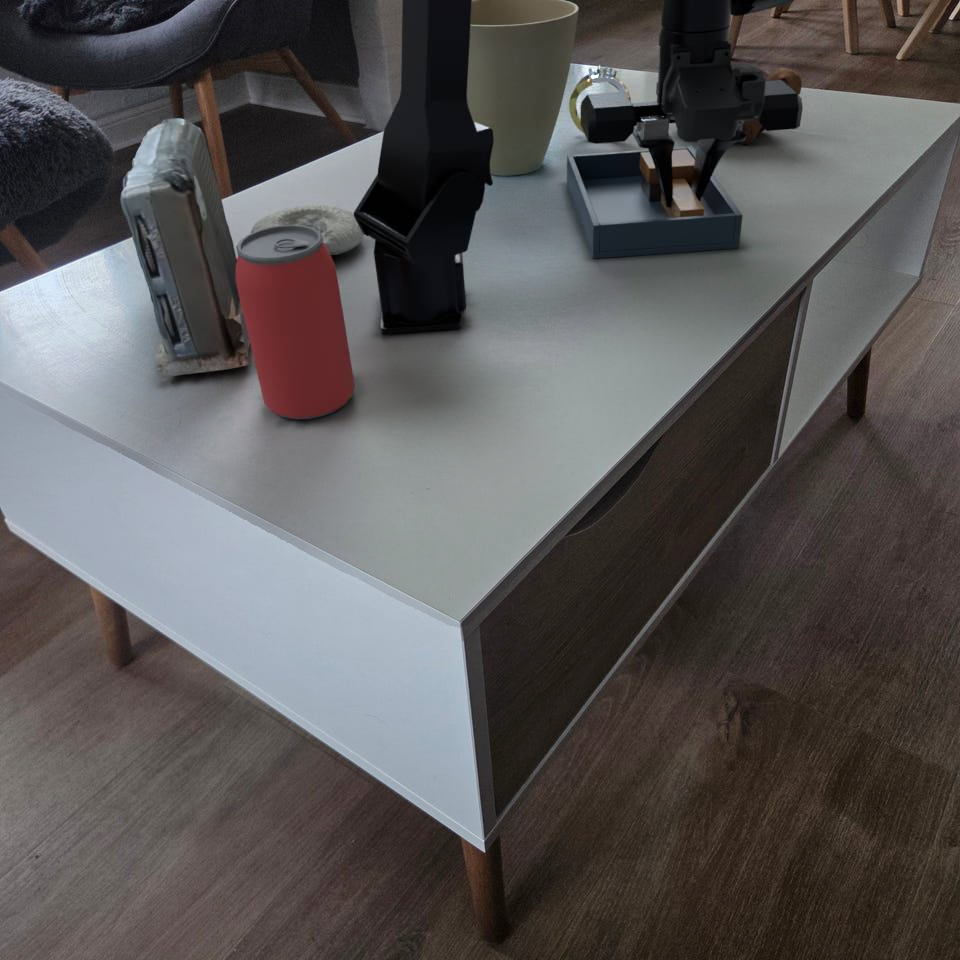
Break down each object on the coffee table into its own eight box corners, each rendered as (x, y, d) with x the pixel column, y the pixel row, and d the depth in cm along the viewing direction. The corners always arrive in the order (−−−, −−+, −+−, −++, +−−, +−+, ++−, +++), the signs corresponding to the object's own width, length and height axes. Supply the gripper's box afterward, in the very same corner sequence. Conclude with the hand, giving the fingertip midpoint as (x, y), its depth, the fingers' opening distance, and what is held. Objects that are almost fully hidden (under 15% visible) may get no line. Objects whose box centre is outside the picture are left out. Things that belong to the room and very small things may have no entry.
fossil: (279, 240, 80) (220, 226, 87) (290, 281, 82) (232, 264, 89) (378, 200, 86) (316, 189, 93) (386, 239, 88) (325, 226, 95)
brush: (716, 230, 85) (720, 194, 83) (664, 234, 85) (667, 198, 83) (684, 182, 95) (687, 149, 93) (638, 185, 95) (640, 152, 93)
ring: (631, 136, 110) (634, 64, 105) (624, 144, 108) (627, 71, 103) (574, 133, 112) (574, 62, 107) (567, 141, 110) (567, 69, 105)
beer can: (339, 427, 64) (310, 264, 56) (250, 420, 65) (210, 260, 58) (367, 377, 69) (343, 222, 62) (284, 372, 70) (251, 219, 63)
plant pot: (540, 196, 96) (537, 29, 87) (420, 178, 102) (405, 21, 93) (599, 152, 106) (602, -2, 97) (486, 138, 113) (479, -8, 103)
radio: (186, 260, 88) (143, 97, 79) (277, 252, 88) (244, 88, 79) (134, 388, 70) (69, 193, 60) (249, 377, 70) (202, 182, 61)
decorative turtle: (788, 153, 102) (792, 78, 97) (656, 149, 109) (654, 78, 104) (808, 123, 108) (814, 51, 103) (683, 121, 115) (682, 53, 110)
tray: (592, 259, 83) (593, 225, 81) (566, 184, 98) (566, 155, 97) (738, 248, 83) (742, 215, 81) (690, 175, 99) (692, 146, 97)
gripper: (599, 56, 72) (595, 246, 81) (839, 39, 72) (807, 231, 81) (580, 25, 81) (579, 200, 90) (793, 10, 81) (769, 186, 90)
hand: (681, 205), depth 88 cm, fingers closed on brush, 2 cm apart
